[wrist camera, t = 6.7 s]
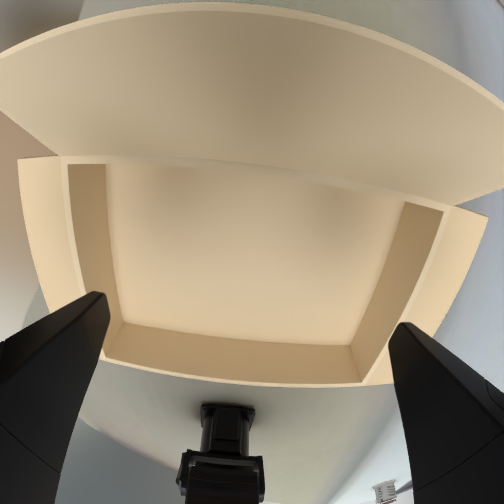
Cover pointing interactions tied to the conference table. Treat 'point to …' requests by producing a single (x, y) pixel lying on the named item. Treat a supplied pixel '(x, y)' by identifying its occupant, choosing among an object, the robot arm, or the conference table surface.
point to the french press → (385, 492)
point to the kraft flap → (258, 97)
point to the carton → (244, 264)
